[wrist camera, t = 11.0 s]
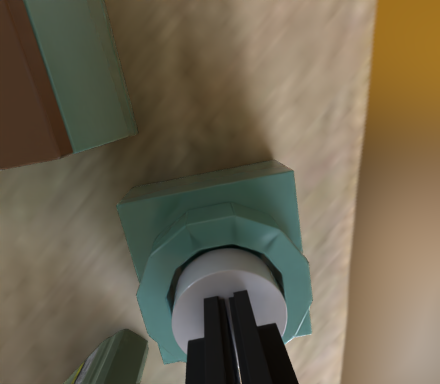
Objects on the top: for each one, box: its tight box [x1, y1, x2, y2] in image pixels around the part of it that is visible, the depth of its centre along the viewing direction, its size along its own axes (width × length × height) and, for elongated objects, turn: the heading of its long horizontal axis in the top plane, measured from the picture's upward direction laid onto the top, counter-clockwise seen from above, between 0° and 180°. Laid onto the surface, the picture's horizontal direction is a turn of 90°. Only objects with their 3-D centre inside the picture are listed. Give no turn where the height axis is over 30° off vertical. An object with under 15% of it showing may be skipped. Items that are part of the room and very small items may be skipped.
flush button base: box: [116, 160, 313, 364], centre depth 14 cm, size 9×8×5 cm
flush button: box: [171, 248, 288, 367], centre depth 11 cm, size 4×4×2 cm
